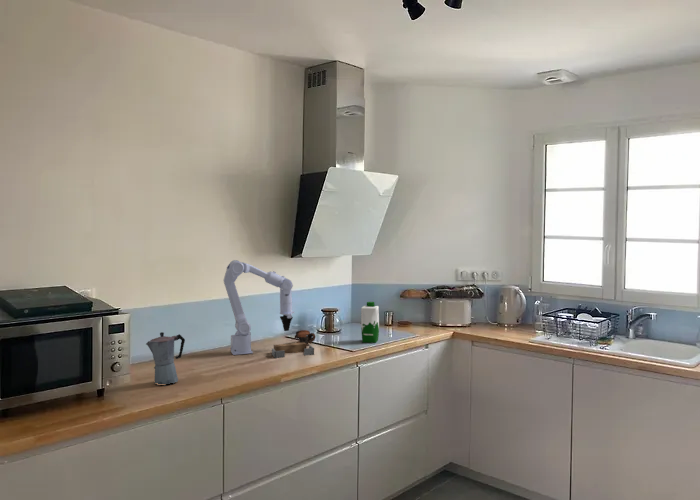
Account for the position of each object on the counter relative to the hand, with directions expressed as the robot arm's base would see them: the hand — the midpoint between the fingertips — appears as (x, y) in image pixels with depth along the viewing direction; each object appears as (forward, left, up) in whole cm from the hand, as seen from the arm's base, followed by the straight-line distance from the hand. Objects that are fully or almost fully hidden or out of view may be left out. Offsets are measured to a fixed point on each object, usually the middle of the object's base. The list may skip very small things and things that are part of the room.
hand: (286, 330), depth 279 cm
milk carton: (+44, +1, -9) cm, 45 cm away
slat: (0, -7, -9) cm, 12 cm away
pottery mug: (+11, +7, -9) cm, 16 cm away
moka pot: (-57, -39, -9) cm, 70 cm away
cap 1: (-7, -13, -9) cm, 17 cm away
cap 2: (+7, -13, -9) cm, 17 cm away
